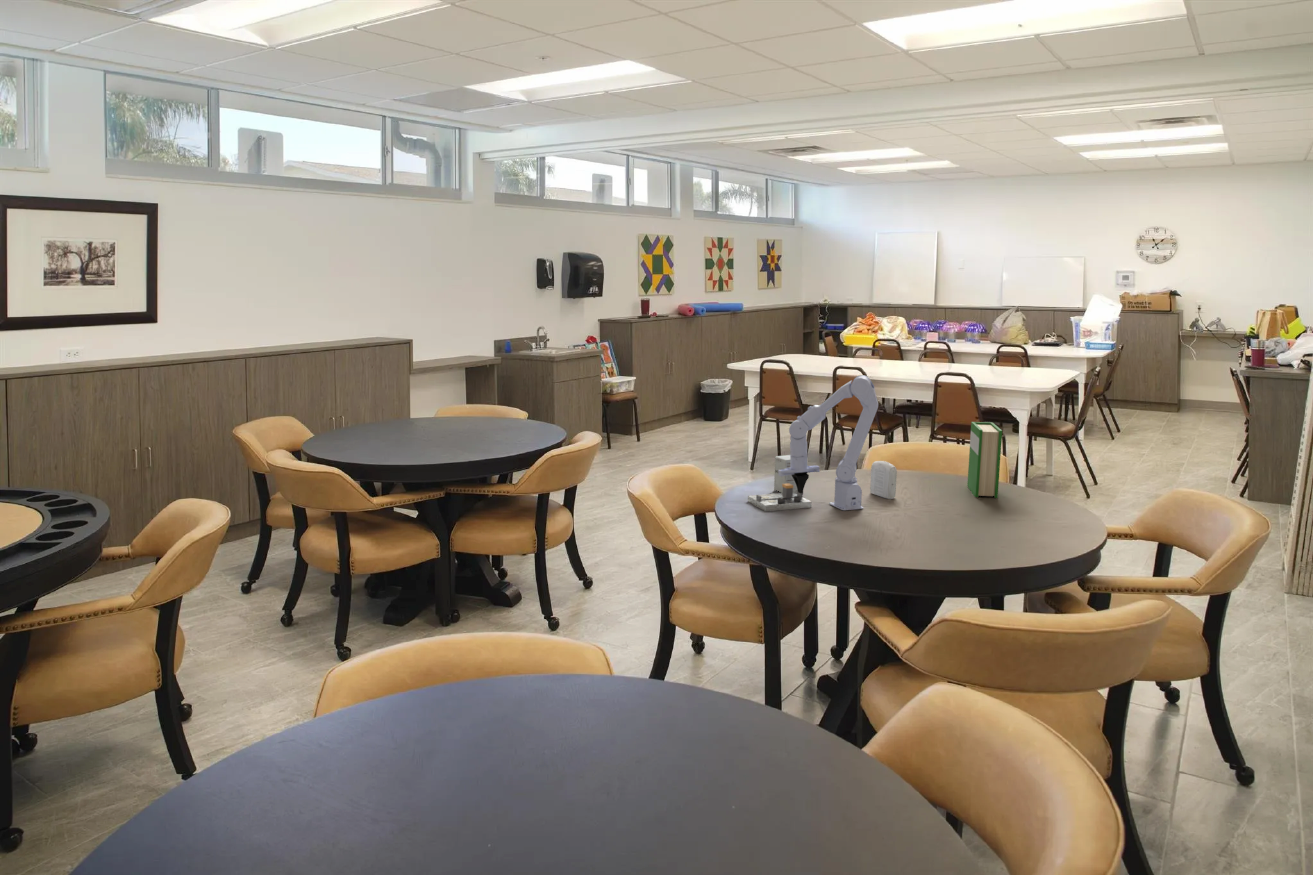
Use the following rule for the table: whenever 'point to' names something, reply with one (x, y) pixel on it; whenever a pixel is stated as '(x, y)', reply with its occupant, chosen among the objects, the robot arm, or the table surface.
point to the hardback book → (984, 459)
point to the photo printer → (883, 479)
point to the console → (779, 502)
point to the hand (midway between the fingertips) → (799, 494)
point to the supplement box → (783, 463)
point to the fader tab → (787, 490)
